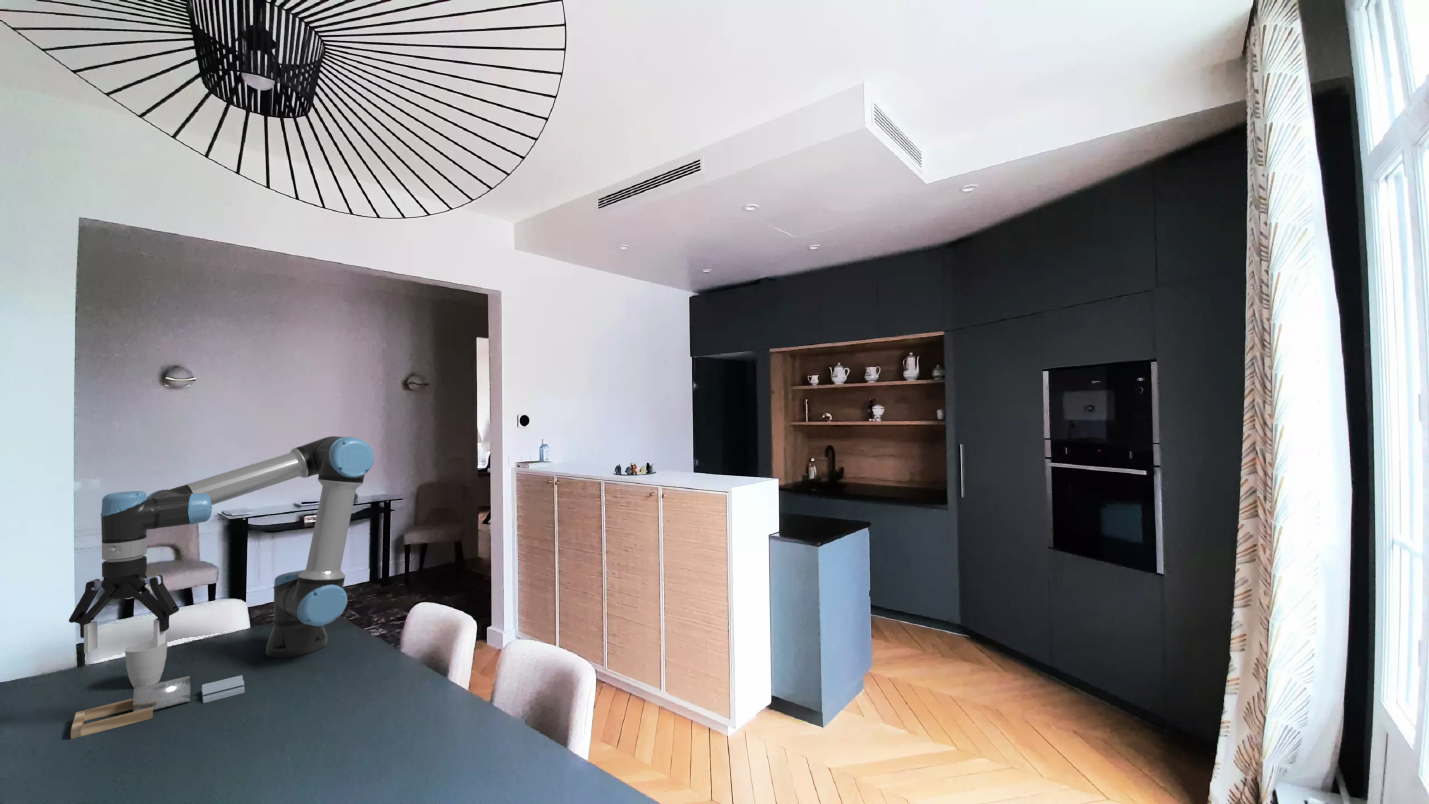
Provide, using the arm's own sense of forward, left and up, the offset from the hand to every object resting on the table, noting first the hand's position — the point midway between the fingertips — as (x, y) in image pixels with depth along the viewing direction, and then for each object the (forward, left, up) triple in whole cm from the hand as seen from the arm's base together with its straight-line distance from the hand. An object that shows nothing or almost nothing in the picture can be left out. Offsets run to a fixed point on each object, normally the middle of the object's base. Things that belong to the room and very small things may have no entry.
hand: (125, 648), depth 139 cm
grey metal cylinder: (0, +6, -16) cm, 17 cm away
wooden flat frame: (0, -2, -16) cm, 16 cm away
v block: (0, +18, -16) cm, 24 cm away
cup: (-20, +3, -16) cm, 26 cm away
